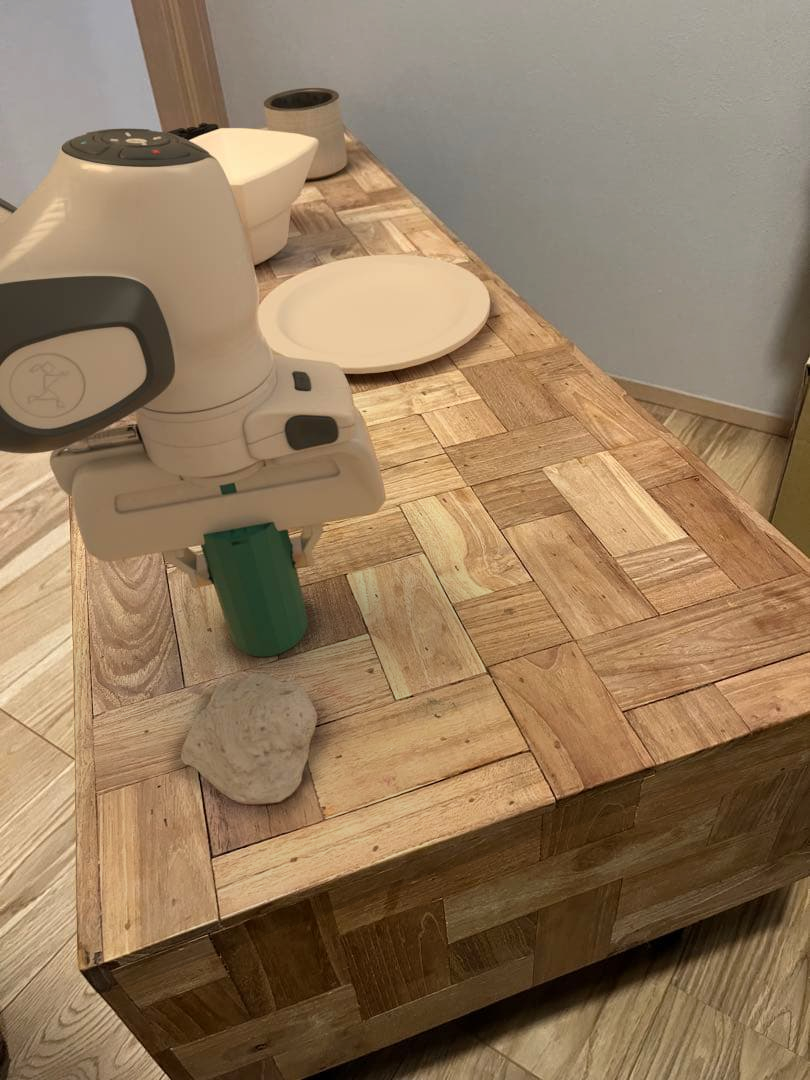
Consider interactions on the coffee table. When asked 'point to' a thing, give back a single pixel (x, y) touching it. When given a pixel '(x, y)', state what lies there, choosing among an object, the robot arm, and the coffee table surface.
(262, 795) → the stone
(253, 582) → the bottle
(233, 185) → the bowl
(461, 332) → the plate
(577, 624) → the coffee table surface
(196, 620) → the coffee table surface
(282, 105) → the planter
